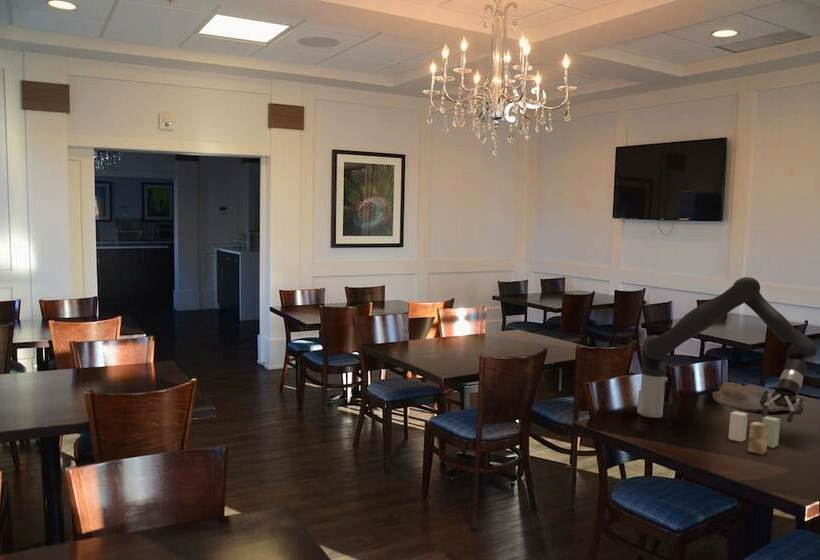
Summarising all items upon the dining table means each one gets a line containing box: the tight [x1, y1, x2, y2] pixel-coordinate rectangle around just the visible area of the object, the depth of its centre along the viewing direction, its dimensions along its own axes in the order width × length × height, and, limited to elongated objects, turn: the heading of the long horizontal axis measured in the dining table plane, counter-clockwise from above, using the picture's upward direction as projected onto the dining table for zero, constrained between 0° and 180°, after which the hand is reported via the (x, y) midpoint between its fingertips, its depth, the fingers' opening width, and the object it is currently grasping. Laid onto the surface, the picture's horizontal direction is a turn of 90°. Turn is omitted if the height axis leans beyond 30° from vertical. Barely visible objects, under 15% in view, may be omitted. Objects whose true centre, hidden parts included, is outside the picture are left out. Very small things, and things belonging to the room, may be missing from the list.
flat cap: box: [712, 381, 790, 413], centre depth 310 cm, size 26×14×28 cm
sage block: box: [761, 415, 781, 449], centre depth 254 cm, size 4×4×10 cm
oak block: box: [747, 421, 769, 455], centre depth 246 cm, size 4×4×10 cm
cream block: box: [728, 410, 749, 443], centre depth 259 cm, size 4×4×10 cm
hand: (775, 418), depth 257 cm, fingers open, 8 cm apart
